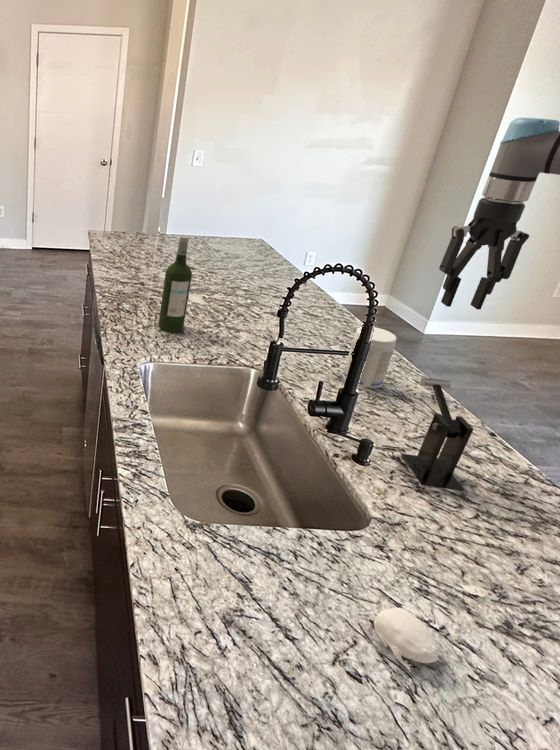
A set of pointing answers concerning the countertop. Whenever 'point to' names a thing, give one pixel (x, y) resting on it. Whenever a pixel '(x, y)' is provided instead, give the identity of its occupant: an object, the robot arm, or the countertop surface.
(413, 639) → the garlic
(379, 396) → the countertop surface
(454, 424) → the tap lever
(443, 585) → the countertop surface
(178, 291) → the wine bottle
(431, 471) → the bracket
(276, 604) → the countertop surface
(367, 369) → the supplement tub
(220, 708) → the countertop surface
